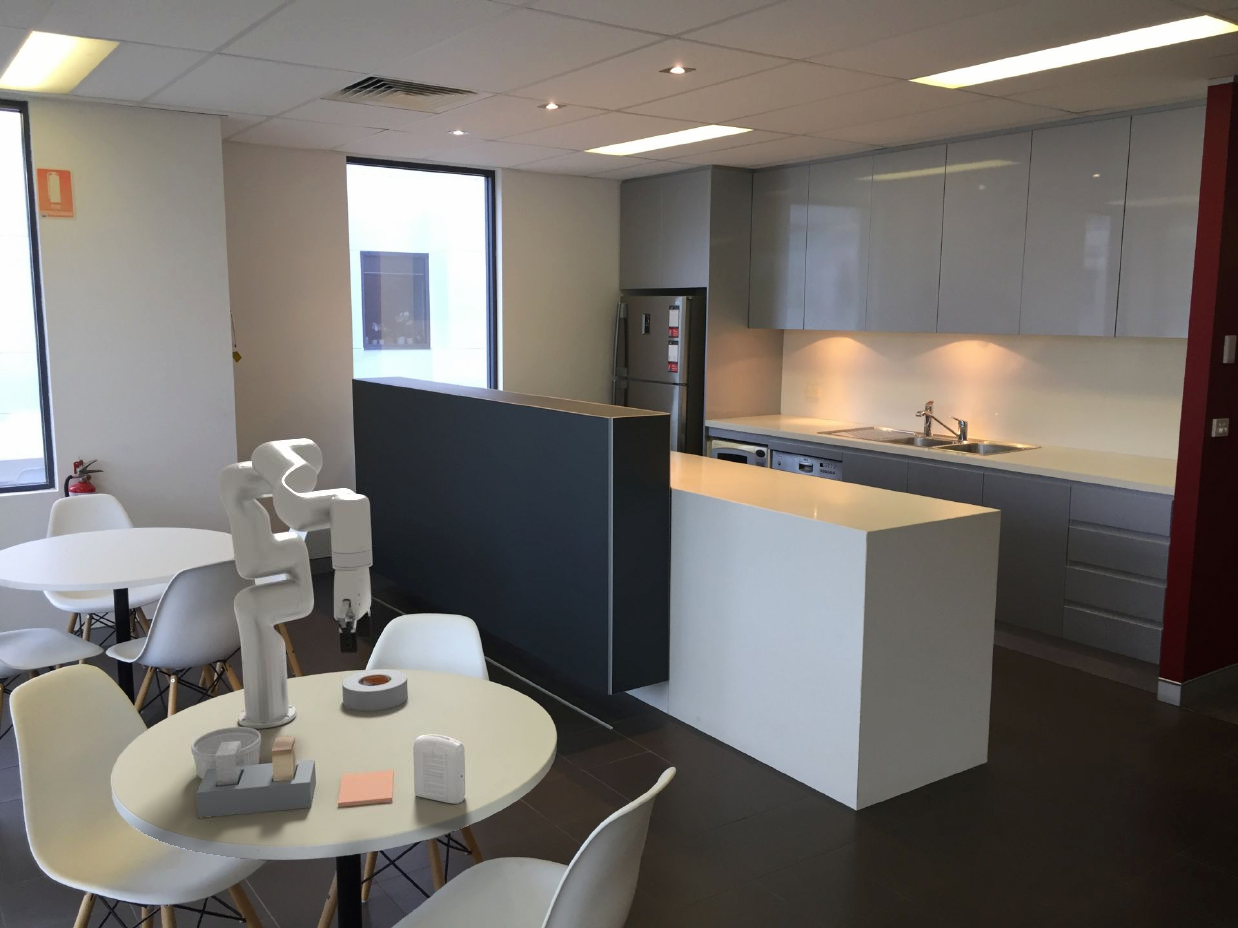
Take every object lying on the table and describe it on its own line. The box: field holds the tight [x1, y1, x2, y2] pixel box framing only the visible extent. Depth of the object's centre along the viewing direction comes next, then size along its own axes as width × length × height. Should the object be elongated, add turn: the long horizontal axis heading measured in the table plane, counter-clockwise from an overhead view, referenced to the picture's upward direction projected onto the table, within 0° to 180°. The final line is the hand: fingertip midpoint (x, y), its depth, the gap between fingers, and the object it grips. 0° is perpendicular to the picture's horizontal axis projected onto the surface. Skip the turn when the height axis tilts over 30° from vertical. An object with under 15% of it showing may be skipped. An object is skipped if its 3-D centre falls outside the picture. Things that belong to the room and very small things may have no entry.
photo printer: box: [412, 733, 466, 805], centre depth 190 cm, size 10×4×12 cm, turn 69°
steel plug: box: [215, 741, 243, 787], centre depth 188 cm, size 6×4×11 cm, turn 12°
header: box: [196, 758, 317, 818], centre depth 190 cm, size 10×20×5 cm, turn 102°
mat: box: [337, 769, 395, 808], centre depth 194 cm, size 12×10×1 cm
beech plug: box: [271, 735, 297, 781], centre depth 190 cm, size 6×4×11 cm, turn 12°
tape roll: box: [341, 669, 409, 712], centre depth 240 cm, size 15×15×5 cm
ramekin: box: [190, 726, 262, 781], centre depth 202 cm, size 13×13×7 cm
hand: (356, 643), depth 194 cm, fingers open, 9 cm apart
